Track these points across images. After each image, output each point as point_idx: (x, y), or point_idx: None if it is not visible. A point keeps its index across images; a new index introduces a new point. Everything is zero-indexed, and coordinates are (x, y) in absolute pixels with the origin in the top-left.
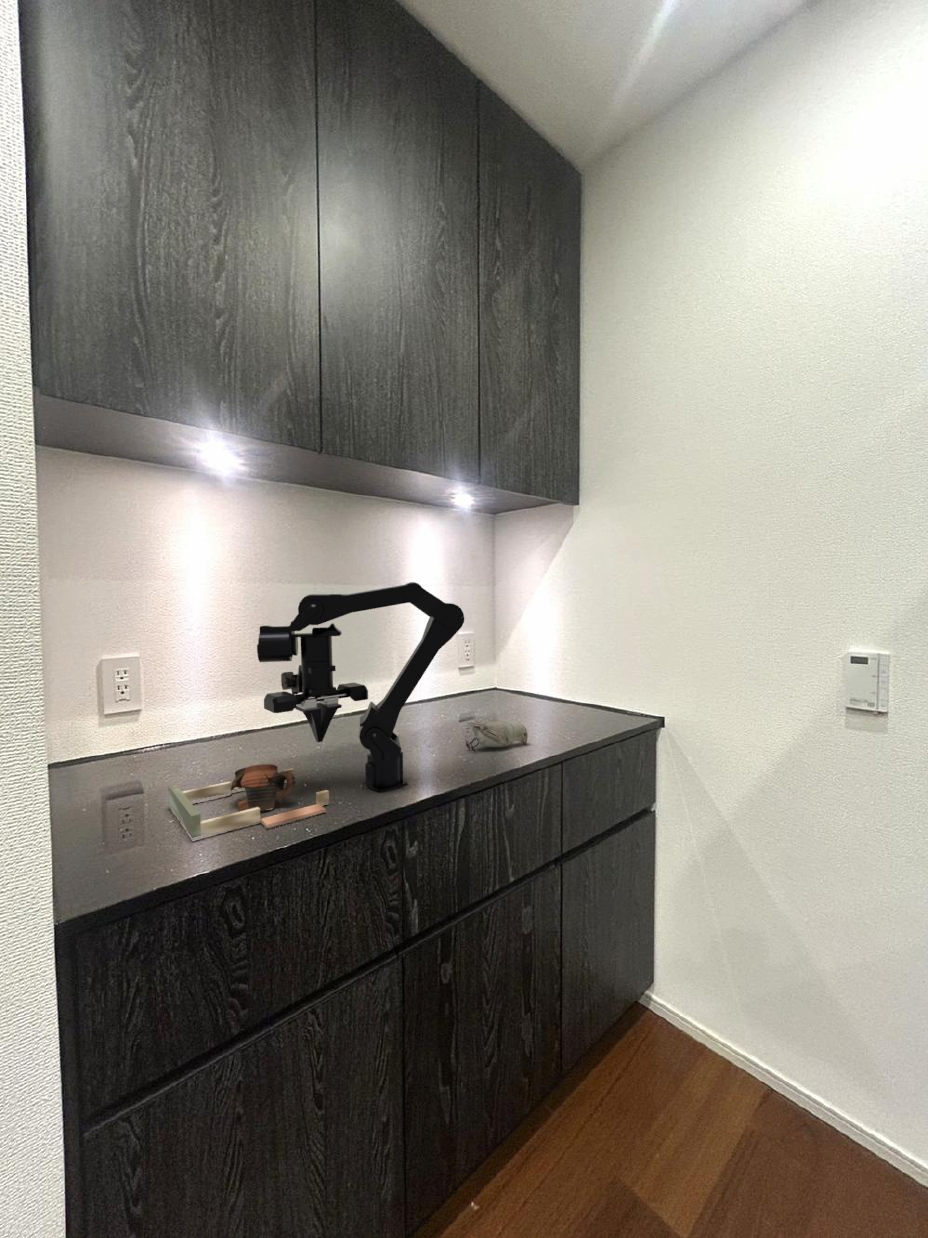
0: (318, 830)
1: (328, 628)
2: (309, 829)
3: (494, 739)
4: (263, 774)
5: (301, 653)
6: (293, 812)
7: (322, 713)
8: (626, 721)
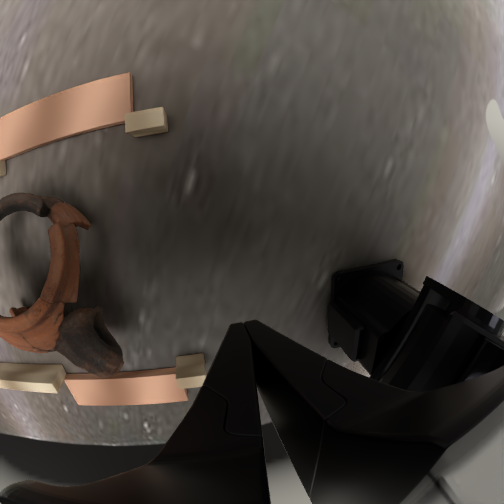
0: (162, 434)
1: None
2: (149, 427)
3: None
4: (29, 346)
5: None
6: (122, 386)
7: (324, 486)
8: None
